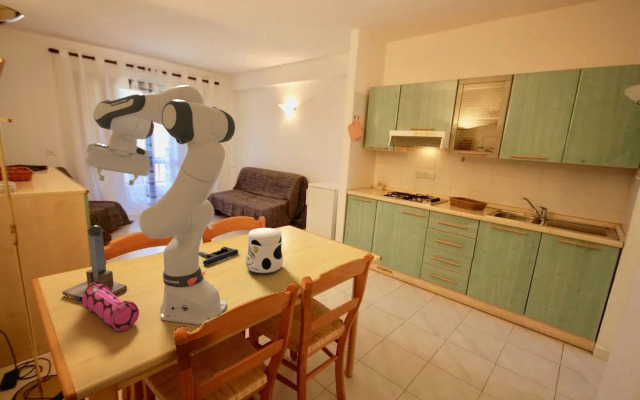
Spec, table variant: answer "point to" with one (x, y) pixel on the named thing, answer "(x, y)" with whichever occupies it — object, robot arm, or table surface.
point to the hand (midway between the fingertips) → (116, 183)
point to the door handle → (218, 255)
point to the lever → (96, 251)
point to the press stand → (103, 278)
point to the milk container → (264, 250)
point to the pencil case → (109, 307)
